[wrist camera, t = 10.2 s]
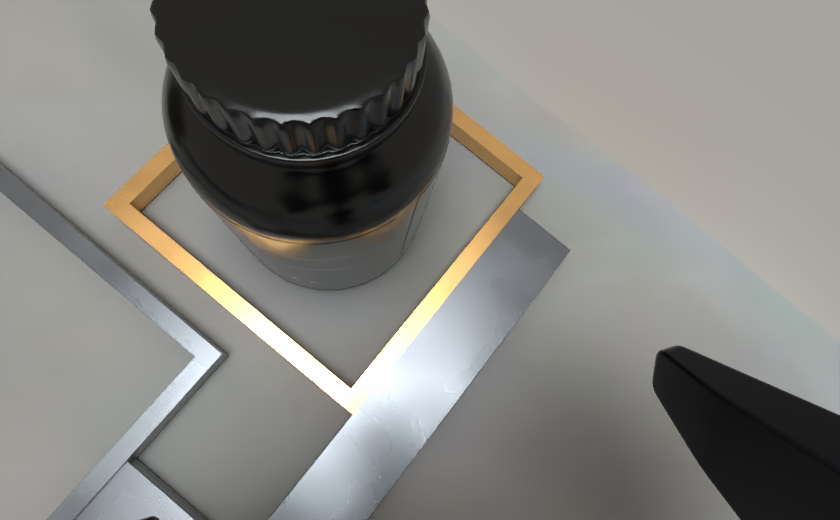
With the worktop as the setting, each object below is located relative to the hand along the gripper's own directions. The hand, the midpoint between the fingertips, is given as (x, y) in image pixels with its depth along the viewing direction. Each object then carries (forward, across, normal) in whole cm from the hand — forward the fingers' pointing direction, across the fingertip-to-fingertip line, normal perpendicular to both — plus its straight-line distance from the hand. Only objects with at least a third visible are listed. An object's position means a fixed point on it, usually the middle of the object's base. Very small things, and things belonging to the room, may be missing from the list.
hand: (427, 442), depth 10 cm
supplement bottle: (+13, 0, +2) cm, 13 cm away
